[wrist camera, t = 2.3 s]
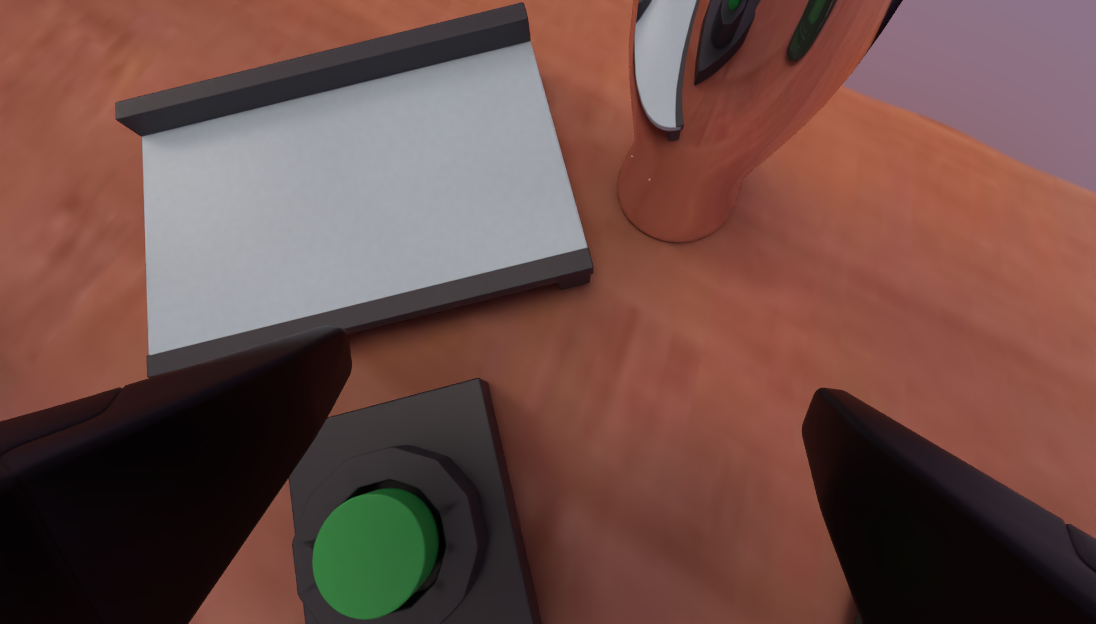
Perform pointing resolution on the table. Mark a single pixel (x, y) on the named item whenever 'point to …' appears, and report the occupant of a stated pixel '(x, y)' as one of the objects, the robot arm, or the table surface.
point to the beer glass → (727, 97)
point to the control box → (442, 484)
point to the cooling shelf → (352, 189)
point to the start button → (375, 552)
